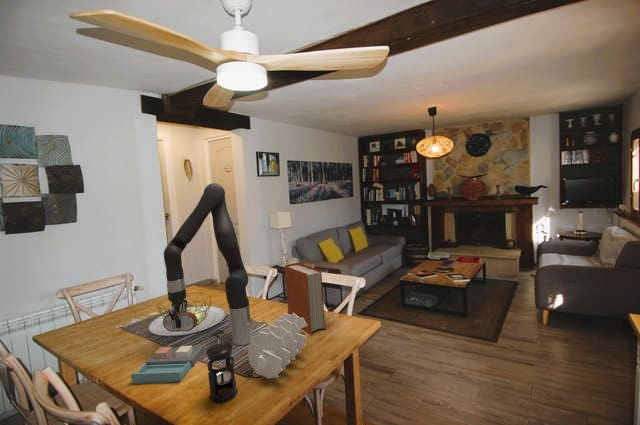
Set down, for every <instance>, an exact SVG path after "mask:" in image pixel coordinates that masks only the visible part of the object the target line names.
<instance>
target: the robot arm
mask: <svg viewBox="0 0 640 425" xmlns="http://www.w3.org/2000/svg"><path fill="white" fill-rule="evenodd" d="M210 213H211V217H212V218H211V220H212V227H213V233H214V237H215V242H216V245H217V248H218V250H219V252H220V253H221V255H222V257H223V258H224V260H225V262H226V264H227V268H228V275H229V276H227V278H226V279H225V283H224V284H225V285H224V286H225V288H224V289H225V294H226V295H225V296H226V302H227V304H228V308H229V309H228V310H229V312H228V313H229V319H230V320H229V321H230V331H231V342H232V345H233V346H234V345H235V346H245V345H247V344H248V345H249V344H250V342H251V337H253V336H254V326H253V319H252V318H251V311H250V299H249V298H248V296H247V289H246V288H247V286H248V283H249V275H248V272H247V270H246V267H245V265H244V263H243V258H242V254H241V250H240V247H239V242H238V237H237V233H236V230H235V226H234V224H233V222H232V219H231V217H230V214H229V212H228V208H227V203H226V190H225V188H224V187H223V186H222V185H221V184H219V183H215V182H214V183H209V184H208V185H206V186H205V187H204V191H203V193H202V194H201V197H200V200H199V201H198V203H197V204H196V206H195V208H194V209H193V210H192V212H191V213H190V214H189V215H188V217H187V218H186V220H184V222H183V223H182V225H180V228H179V229H178V230H177V232H176V233H175V236H174V237H173V238H171V240H170V242H169V243H168V244H167V245H166V246H165V248H164V250H163V262H164V265H165V269H166V270H165V274H166V276H165V277H166V290H167V292H166V293H167V298H168V299H167V300H168V302H171V309H169V310H168V314H170V317H171V319H172V320H175V323H176V328H181V317H180V314H181V312H187V308H188V299H186V298H187V287H186V281H185V273H184V272H185V271H184V268H183V261H182V260H183V259H182V253H183V252H184V250H185V248H187V246H188V244H190V242H191V241H192V240H193V239H194V237H195V236H196V235H197V233H198V232H199V230H200V229H201V227H202V226H203V223H204V222H205V220H206V219H207V217H208V216H209V214H210ZM176 312H178V313H176ZM177 315H178V316H177Z"/></svg>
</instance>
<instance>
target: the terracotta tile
mask: <svg viewBox="0 0 640 425" xmlns="http://www.w3.org/2000/svg"><path fill="white" fill-rule="evenodd" d="M172 347H173V346H160V347H159V348H158V349H157V350H155V352H154V353H155V359H161V358H168V356H169V355H170V354H171V353H172Z"/></svg>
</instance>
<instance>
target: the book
mask: <svg viewBox="0 0 640 425" xmlns="http://www.w3.org/2000/svg"><path fill="white" fill-rule="evenodd" d="M284 274H285V275H284V277H285V284H286V285H285V286H286V287H285V288H286V298H287V299H286V300H287V312H288V313H287V314H290V315H292V314H293V313H294V314H296V315H297V316H298V317H299V318H302V317H303V318H304V320H305V322H306V324H307V326H306V327H304V328H301V329H300V330H302V331H304V332H305V333H307V334H308V335H309V336H312V333H313V332H314V331H316V330H323V331H326V322H325V320H326V319H325V307H324V306H325V305H324V292H323V290H324V289H323V276H322V274H323V273H322V270H321V269H318V268H314V267H311V266H309V265H306V264H302V263H300V262H295V263H290V264H286V265H284Z"/></svg>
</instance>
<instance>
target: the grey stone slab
mask: <svg viewBox="0 0 640 425" xmlns="http://www.w3.org/2000/svg"><path fill="white" fill-rule="evenodd" d="M191 346H192V349H193V351H192V353H191V354H190V355H189V356H188V357H184V358H176V353H175V352H176V351H177V350H178V349H179V348H180V347H181V346H171V347H172V353H171V354H170V355H169V356H168V358H161V359H155V352H154V353H153V354H152V355H151V356H150V357H149V358H148V359H147V360H146V361H145V362H144V364H147V365H164V364H187V362H190V363H191V367H192V368H194V367H195V366H196V364H197V362H198V361H199V359H200V358H201V357H202V356H203V354H204V353H205V350H204V349H205V348H204V345H191Z"/></svg>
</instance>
